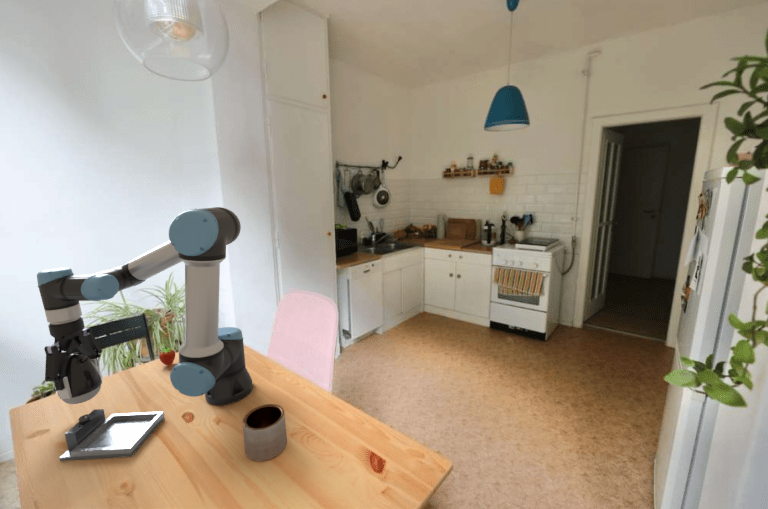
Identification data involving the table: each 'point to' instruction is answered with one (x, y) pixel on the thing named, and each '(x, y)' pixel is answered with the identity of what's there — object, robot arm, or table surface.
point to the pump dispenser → (82, 378)
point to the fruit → (167, 356)
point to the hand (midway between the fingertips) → (81, 387)
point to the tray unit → (109, 434)
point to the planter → (264, 432)
